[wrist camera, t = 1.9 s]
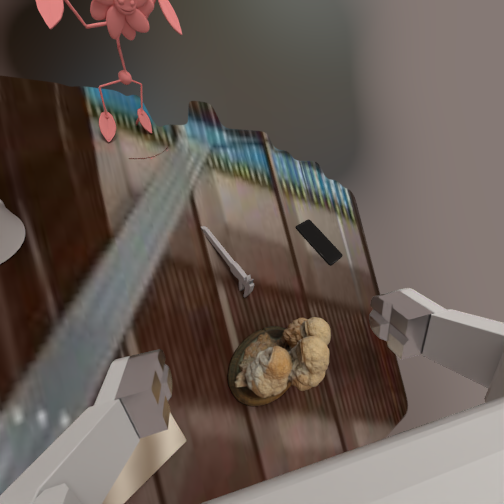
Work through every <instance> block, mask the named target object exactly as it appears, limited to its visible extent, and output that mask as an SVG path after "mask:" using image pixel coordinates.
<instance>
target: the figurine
mask: <svg viewBox="0 0 504 504" xmlns="http://www.w3.org/2000/svg"><path fill="white" fill-rule="evenodd" d="M64 1H65V2H66V3H67V4H68V6H69V7H70V9H71V10H72V11H73V12H74V13H75V15H76V16H77V17H78V19H79V20H80V21H81V23H82V24H83V25H84V26H86V29H88V28H94V27H100V26H105V25H107V27H108V31H109V34H110V36H111V37H112V39H117V46H118V51H119V54H120V58H121V61H122V65H123V68H124V70H122V71H120V72H119V79H120V80H118V81H114V82H111V83H107V84H104V85H101V86H99V91H100V95H101V99H102V103H103V106H104V110H105V112H103V113H101V115H100V118H99V127H100V130H101V133H102V134H103V135H104V137H105V138H106V140H107V141H108V142H110V141H111V140H112V138H113V137H114V135H115V132H116V124H115V121H114V119H113V116H112V115H111V114H110V113H109V112H106V108H105V104H104V100H103V96H102V92H101V87H104V86H107V85H111V84H114V83H118V82H122V83H123V84H125V85H128V84H130V83H131V81H132V82H135V83H137V84H140V85H141V109H140V108H139V109H138V112H137V114H138V119H137V121H136V125H138V122H139V121H140V123H141V125H142V126H143V127H144V129H146V130H147V131H148V132H149V133H151V134H152V128H151V122H150V119H149V117H148V115H147V114H146V113H145V112H144V110H143V109H142V84H141V83H139V82H136V81H134V80H132V78H131V75H130V74H129V73H128V72H127V71H126V68H125V64H124V60H123V56H122V52H121V48H120V42H119V37H120V34H121V33H122V34H123V35H124V36H125V37H126V38H127V39H129V40H133V39H134V38H135V35H136V33H135V31H138V32H141V33H144V32H145V33H146V32H148V31H149V22H148V21H147V19H148V17H149V14H150V13H151V12H152V11H153V9H154V4H155V2H156V0H153V1H152V0H92V2H91V9H90V12H91V16H92V17H93V18H94V19H95V20H103V19H106V22H100V23H95V24H89V25H86V24H85V22H84V21H83V20H82V18H81V17H80V16H79V15H78V13H77V12H76V11H75V9H74V8H73V7H72V5H71V4H70V3H69V1H68V0H64ZM158 2H159V4H160V7H161V9H162V12H163V14H164V16H165V17H166V19H167V21H168V22H169V24H170V25H171V26H172V28H173V29H174V30H175V31H176V32H178V33H179V34H180V35H182V32H181V28H180V24H179V21H178V18H177V16H176V14H175V12H174V9H173V8H172V6H171V4H170V3H169V1H168V0H158ZM36 3H37V7H38V10H39V12H40V14H41V15H42V17H43V19H44V21H45V22H46V24H47V25H48V27H49V28H50V29H52V28H54V27H55V26H56V25H57V24H58V22H59V21H60V20H61V19H62V15H63V11H64V5H63V0H36ZM169 143H170V142H169ZM168 146H169V145H168ZM166 149H167V148H166ZM166 149H165V150H166ZM163 152H164V151H163ZM160 154H161V153H160ZM158 155H159V154H158ZM156 156H157V155H156ZM152 157H154V156H152ZM148 158H150V157H148ZM154 158H155V157H154ZM129 159H136V158H129ZM137 159H144V158H137ZM151 159H152V158H151Z"/></svg>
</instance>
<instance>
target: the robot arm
mask: <svg viewBox="0 0 504 504" xmlns="http://www.w3.org/2000/svg"><path fill="white" fill-rule="evenodd" d="M24 238H25V228H24V225H23V223H22V222H21V220H20V219H19V218H18V217H17V216H15V215H14V214H13V213H11V212H10V211H9V210H8V209H7V208H5V205H4V203H3V202H2V201H1V200H0V264H1V263H3V262H4V261H6V260H7V259H9V258H10V257H11V256H12V255H14V254H15V253H16V252H17V250H18V249H19V248H20V247H21V245H22V243H23V241H24ZM370 306H371V307H372V308H373V310H372V312H371V313H370V315H369V323H370V326H371V329H372V330H373V332H374V333H375V334H376V335H377V336H378V337H379V338H381V339H383V340H385V341H387V345H388V347H389V348H390V349H391V350H392V351H393V352H394V353H395V354H396V355H397V356H398V357H399V358H400V359H406V358H409V357H413V356H417V355H420V354H422V355H423V356H424V357H426V358H428V359H430V360H433V361H434V362H436V363H438V364H440V365H442V366H444V367H446V368H448V369H451V370H452V371H455V372H456V373H459V374H461V375H462V376H464V377H466V378H469V379H470V380H472V381H474V382H477V383H479V384H481V385H483V386H485V387H487V388H489V389H488V392H487V394H486V396H485V403H484V404H481V405H478V406H476V407H473V408H470V409H467V410H464V411H461V412H459V413H455V414H453V415H450V416H447V417H444V418H441V419H439V420H436V421H433V422H430V423H427V424H424V425H421V426H419V427H416V428H413V429H410V430H407V431H404V432H402V433H399V434H396V435H393V436H390V437H388V438H385V439H382V440H379V441H376V442H373V443H370V444H368V445H365V446H362V447H359V448H356V449H353V450H351V451H348V452H345V453H342V454H339V455H336V456H334V457H331V458H328V459H325V460H322V461H320V462H317V463H314V464H311V465H308V466H305V467H303V468H300V469H297V470H294V471H291V472H288V473H286V474H283V475H280V476H277V477H274V478H272V479H269V480H266V481H263V482H260V483H257V484H255V485H252V486H249V487H246V488H243V489H240V490H238V491H235V492H232V493H229V494H226V495H223V496H221V497H218V498H215V499H212V500H209V501H207V502H204V503H201V504H504V323H502V322H498V321H495V320H491V319H487V318H483V317H479V316H475V315H471V314H467V313H464V312H459V311H455V310H452V309H449V310H446V309H445V308H443V307H441V306H440V305H438V304H436V303H434V302H433V301H431V300H430V299H428V298H426V297H425V296H423V295H421V294H420V293H418V292H416V291H415V290H413V289H410V288H404V289H400V290H397V291H394V292H390V293H386V294H382V295H378V296H374V297H373V298H372V299H371V304H370ZM171 396H172V377H171V372H170V369H169V367H168V366H167V365H165V355H164V353H163V350H161V349H159V350H155V351H150V352H146V353H141V354H137V355H132V356H129V357H125V358H120V359H116V360H114V361H113V362H112V363H111V366H110V368H109V370H108V373H107V375H106V378H105V380H104V382H103V385H102V387H101V390H100V392H99V395H98V397H97V399H96V402H95V404H94V406H92V407H88V408H87V409H86V410H85V411H84V412H83V413H82V414H81V415H80V416H79V417H78V418H77V419H76V420H75V421H74V422H73V423H72V424H71V425H70V426H69V427H68V428H67V429H66V430H65V431H64V432H63V433H62V434H61V435H60V436H59V437H58V438H57V439H56V440H55V441H54V442H53V443H52V444H51V445H50V446H49V447H48V448H47V449H46V450H45V451H44V452H43V453H42V454H41V455H40V456H39V457H38V458H37V459H36V460H35V461H34V462H33V463H32V464H31V465H30V466H29V467H28V468H27V469H26V470H25V471H24V472H23V473H22V474H21V475H20V476H19V477H18V478H17V479H16V480H15V481H14V482H13V483H12V484H11V485H10V486H9V487H8V488H7V489H6V490H5V491H4V492H3V493H2V494H1V495H0V504H102V503H103V501H104V499H105V498H106V496H107V494H108V493H109V491H110V489H111V488H112V486H113V484H114V483H115V481H116V479H117V478H118V476H119V474H120V473H121V471H122V469H123V468H124V466H125V464H126V463H127V461H128V459H129V458H130V456H131V454H132V453H133V451H134V449H135V448H136V446H137V445H138V443H139V441H140V438H143V437H146V436H149V435H152V434H155V433H159V432H162V431H165V430H168V425H169V416H170V406H169V404H168V400H169V399H170V397H171Z"/></svg>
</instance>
